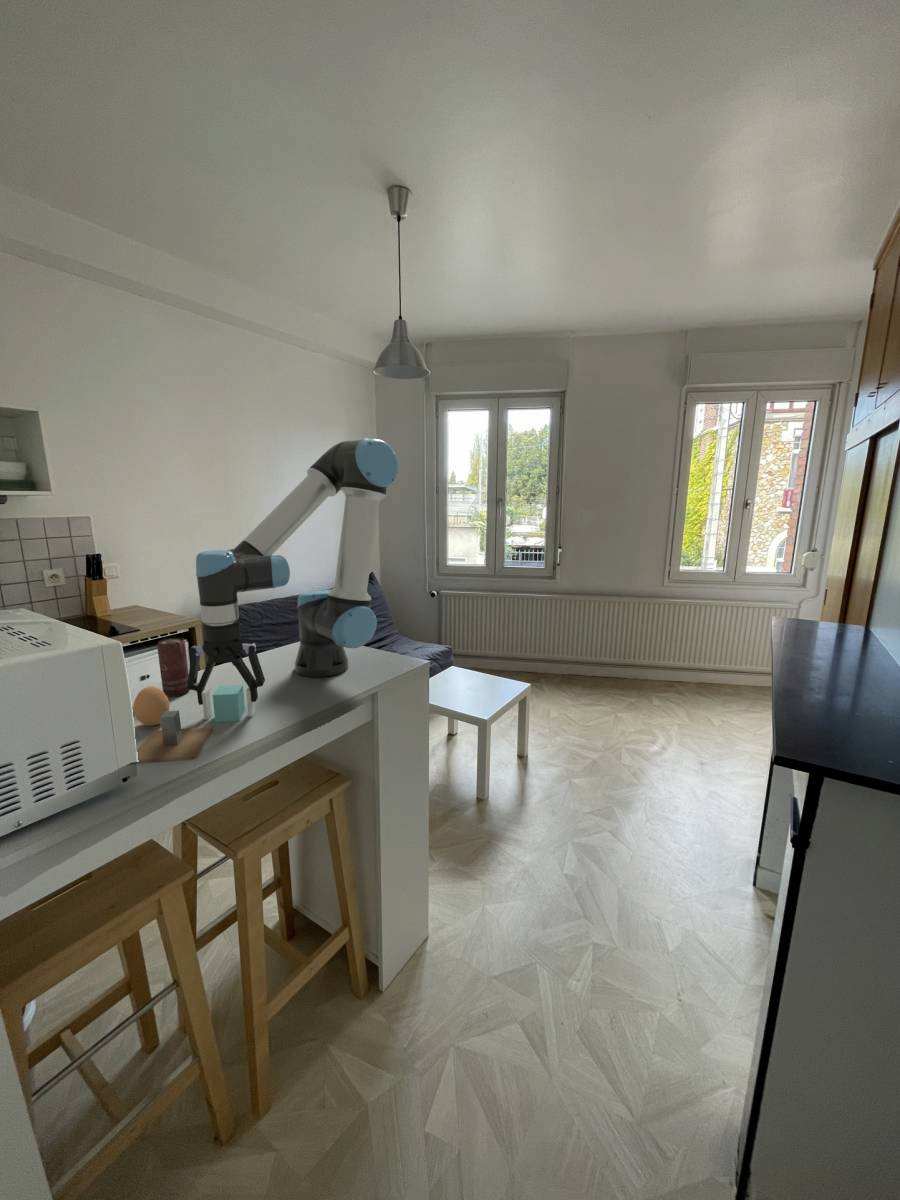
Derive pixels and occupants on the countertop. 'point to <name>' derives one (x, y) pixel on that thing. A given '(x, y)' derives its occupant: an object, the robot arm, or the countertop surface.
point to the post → (171, 728)
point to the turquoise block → (229, 703)
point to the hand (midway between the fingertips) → (230, 715)
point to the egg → (150, 705)
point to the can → (173, 666)
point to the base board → (185, 749)
